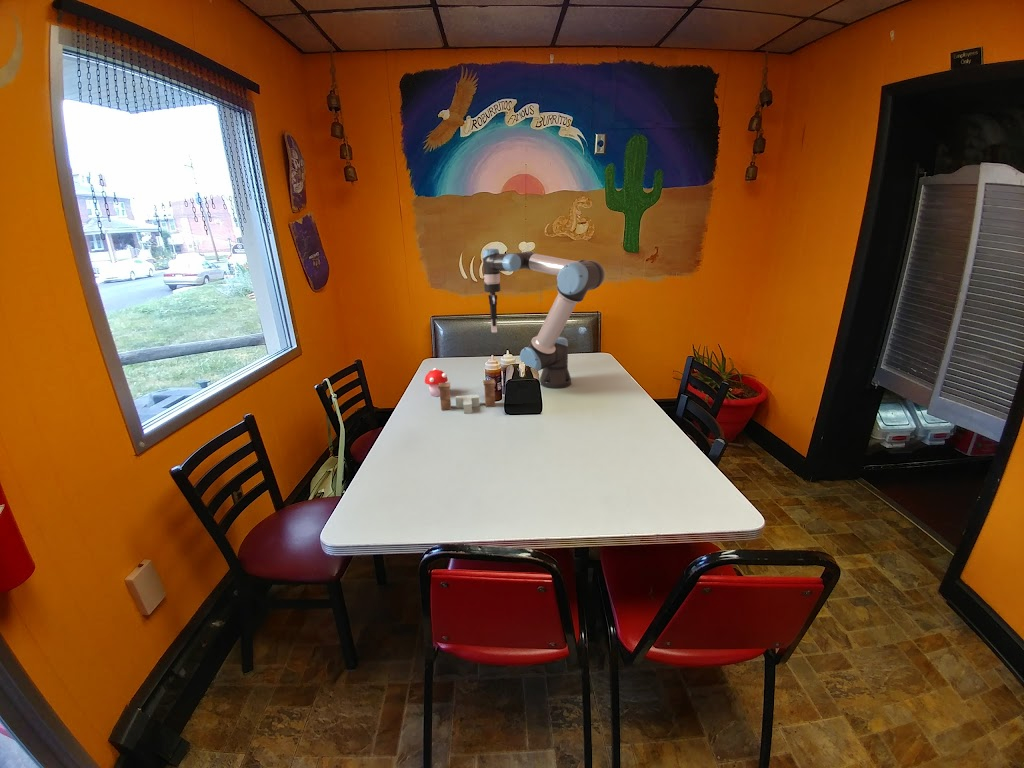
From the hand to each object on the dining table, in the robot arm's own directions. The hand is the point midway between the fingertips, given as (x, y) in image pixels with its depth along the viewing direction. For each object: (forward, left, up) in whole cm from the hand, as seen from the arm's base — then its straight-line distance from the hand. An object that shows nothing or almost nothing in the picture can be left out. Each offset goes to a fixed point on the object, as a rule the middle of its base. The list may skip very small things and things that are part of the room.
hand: (494, 332), depth 218 cm
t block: (+15, +36, -25) cm, 46 cm away
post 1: (+25, +34, -24) cm, 48 cm away
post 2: (+6, +34, -24) cm, 42 cm away
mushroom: (+29, +16, -25) cm, 41 cm away
